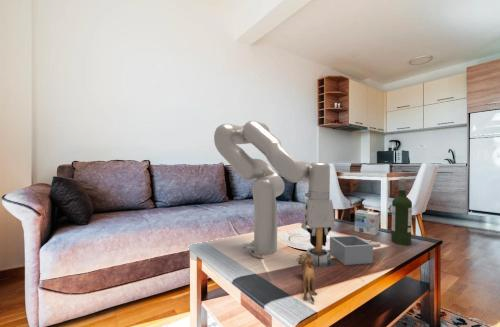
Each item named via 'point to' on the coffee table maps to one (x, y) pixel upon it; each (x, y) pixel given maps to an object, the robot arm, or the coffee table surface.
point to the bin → (351, 250)
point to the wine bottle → (401, 216)
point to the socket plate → (321, 259)
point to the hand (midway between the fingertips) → (318, 244)
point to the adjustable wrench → (373, 243)
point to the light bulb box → (367, 222)
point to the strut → (318, 242)
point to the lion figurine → (307, 274)
